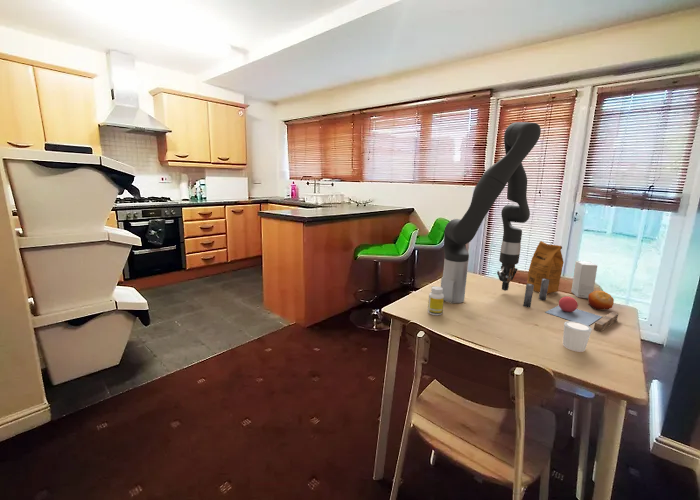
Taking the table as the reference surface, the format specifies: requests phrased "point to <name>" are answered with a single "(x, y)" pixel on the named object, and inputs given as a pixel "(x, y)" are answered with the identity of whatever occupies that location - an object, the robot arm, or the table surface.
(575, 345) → the white cup
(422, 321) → the table surface
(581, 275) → the skincare box
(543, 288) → the far post
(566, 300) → the ball
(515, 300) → the table surface
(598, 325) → the wall
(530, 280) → the coffee package
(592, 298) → the fruit
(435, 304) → the supplement bottle
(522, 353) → the table surface
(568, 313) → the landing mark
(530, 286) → the near post
